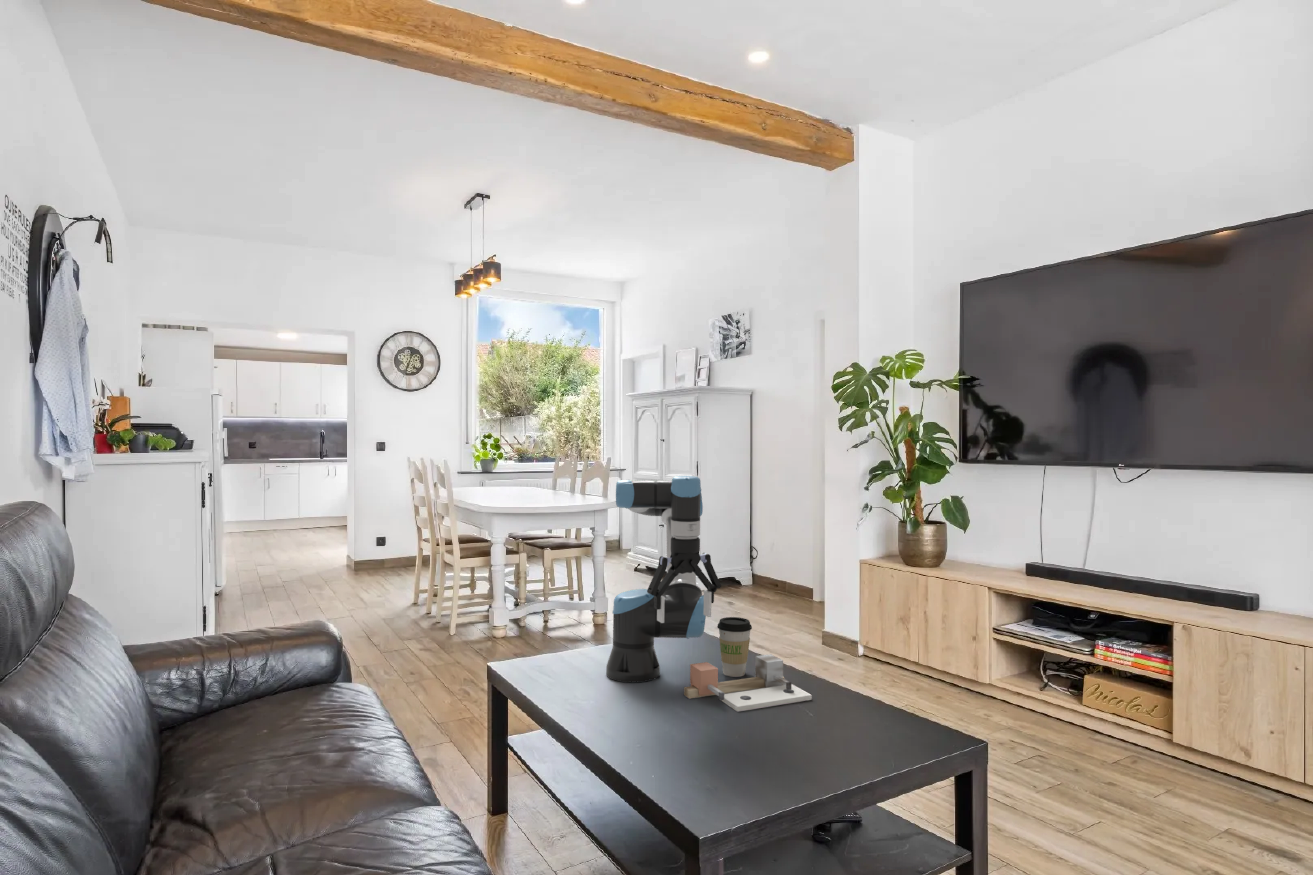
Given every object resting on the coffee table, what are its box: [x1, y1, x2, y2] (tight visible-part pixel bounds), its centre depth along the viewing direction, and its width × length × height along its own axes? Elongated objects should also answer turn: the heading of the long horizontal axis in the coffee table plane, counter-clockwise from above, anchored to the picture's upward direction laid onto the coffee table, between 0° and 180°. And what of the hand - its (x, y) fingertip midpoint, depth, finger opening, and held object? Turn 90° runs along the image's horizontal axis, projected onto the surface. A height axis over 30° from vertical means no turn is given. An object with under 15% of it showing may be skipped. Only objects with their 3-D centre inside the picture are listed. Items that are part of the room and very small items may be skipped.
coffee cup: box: [716, 616, 753, 678], centre depth 213 cm, size 10×10×15 cm
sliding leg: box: [689, 661, 725, 701], centre depth 192 cm, size 13×5×6 cm, turn 24°
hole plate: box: [720, 684, 813, 712], centre depth 192 cm, size 9×22×1 cm, turn 114°
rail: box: [683, 653, 792, 700], centre depth 196 cm, size 13×29×7 cm, turn 114°
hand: (684, 618), depth 192 cm, fingers open, 13 cm apart
